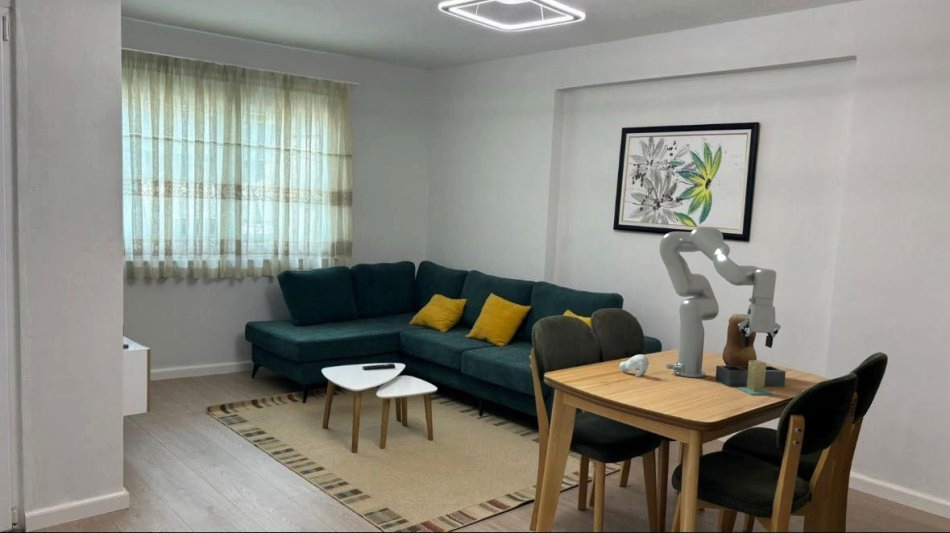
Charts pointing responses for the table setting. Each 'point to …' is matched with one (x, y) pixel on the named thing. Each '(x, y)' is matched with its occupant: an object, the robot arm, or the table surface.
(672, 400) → the table surface
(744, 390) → the teal rubber mat
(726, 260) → the robot arm
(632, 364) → the white animal figurine
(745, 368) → the graphite rack rail
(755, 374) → the tan rectangular block
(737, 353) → the butternut squash
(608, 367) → the table surface
